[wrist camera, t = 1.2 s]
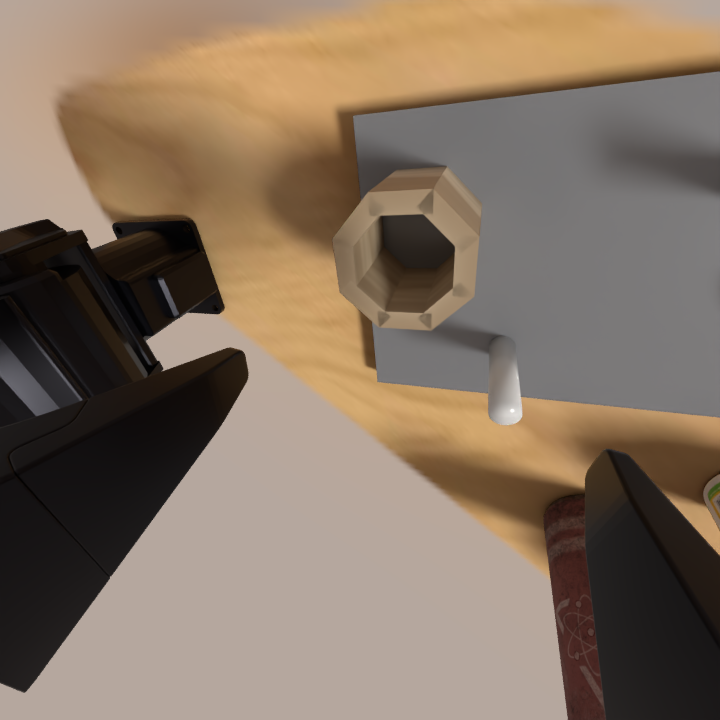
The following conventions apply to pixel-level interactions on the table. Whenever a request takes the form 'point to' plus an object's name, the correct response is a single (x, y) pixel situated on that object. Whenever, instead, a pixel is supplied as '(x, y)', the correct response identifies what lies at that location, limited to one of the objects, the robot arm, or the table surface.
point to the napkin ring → (387, 274)
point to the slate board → (567, 245)
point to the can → (573, 608)
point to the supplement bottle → (713, 498)
